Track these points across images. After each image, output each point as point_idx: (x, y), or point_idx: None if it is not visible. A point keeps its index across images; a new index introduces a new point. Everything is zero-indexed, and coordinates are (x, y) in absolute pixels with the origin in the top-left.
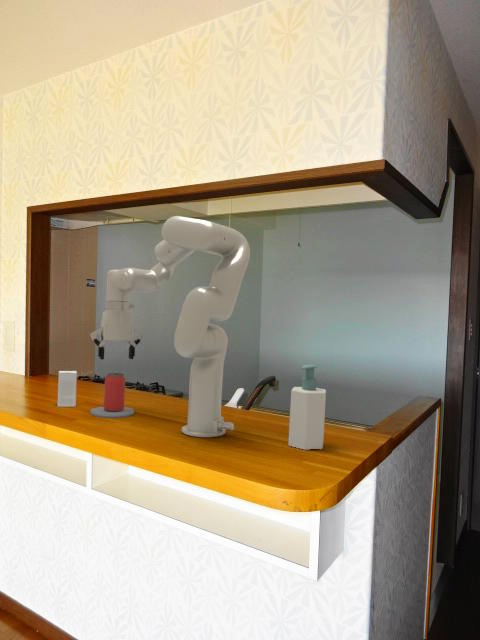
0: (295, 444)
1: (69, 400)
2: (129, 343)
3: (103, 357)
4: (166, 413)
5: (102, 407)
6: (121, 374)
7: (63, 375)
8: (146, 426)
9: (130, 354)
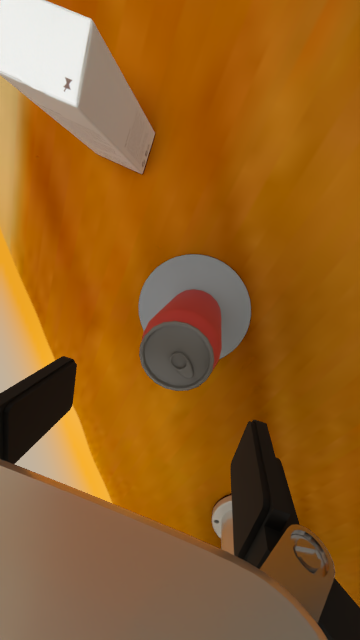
0: None
1: (118, 160)
2: (264, 572)
3: (60, 414)
4: (315, 379)
5: (186, 265)
6: (209, 354)
7: (28, 92)
8: (191, 441)
9: (237, 479)
